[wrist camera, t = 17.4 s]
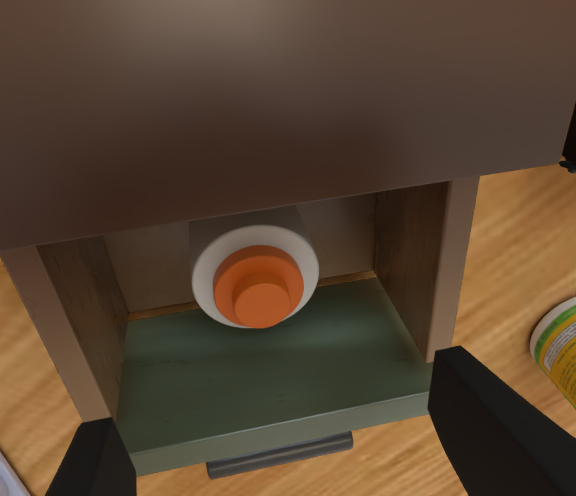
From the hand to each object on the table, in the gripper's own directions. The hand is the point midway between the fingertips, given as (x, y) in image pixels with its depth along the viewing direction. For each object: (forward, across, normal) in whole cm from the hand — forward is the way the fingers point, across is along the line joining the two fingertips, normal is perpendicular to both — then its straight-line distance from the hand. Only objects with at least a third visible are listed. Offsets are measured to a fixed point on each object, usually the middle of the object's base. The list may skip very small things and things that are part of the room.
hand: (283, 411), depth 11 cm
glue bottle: (+8, 0, 0) cm, 8 cm away
